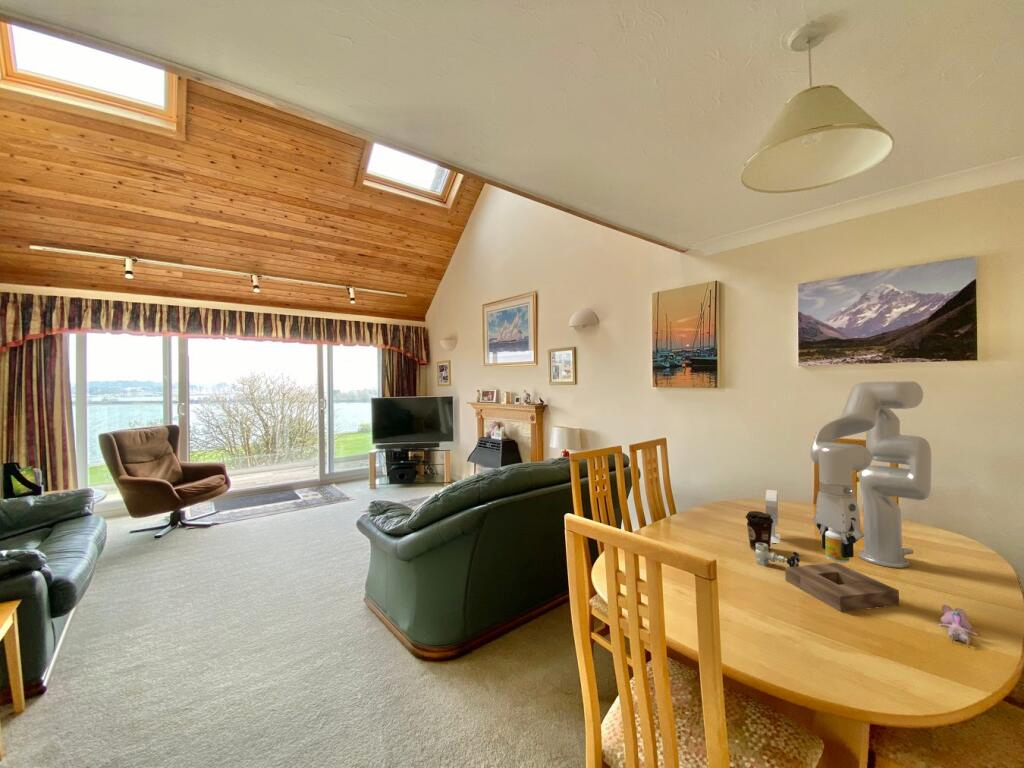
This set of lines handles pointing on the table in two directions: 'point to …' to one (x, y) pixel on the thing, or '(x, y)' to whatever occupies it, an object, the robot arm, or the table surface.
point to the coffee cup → (759, 528)
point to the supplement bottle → (834, 545)
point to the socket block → (841, 587)
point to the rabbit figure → (956, 624)
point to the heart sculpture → (773, 512)
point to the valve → (773, 556)
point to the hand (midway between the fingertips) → (837, 552)
